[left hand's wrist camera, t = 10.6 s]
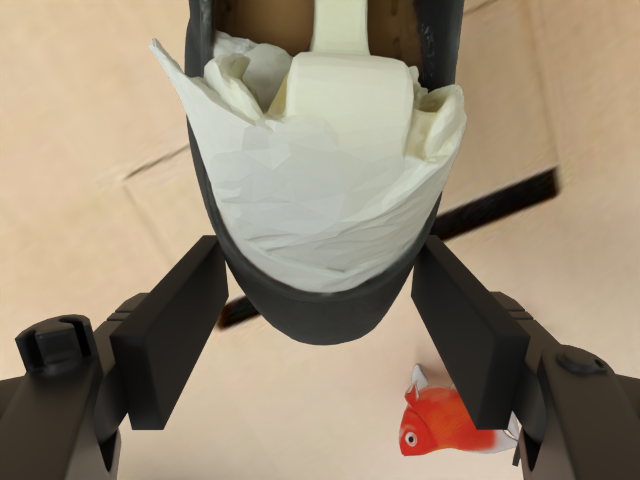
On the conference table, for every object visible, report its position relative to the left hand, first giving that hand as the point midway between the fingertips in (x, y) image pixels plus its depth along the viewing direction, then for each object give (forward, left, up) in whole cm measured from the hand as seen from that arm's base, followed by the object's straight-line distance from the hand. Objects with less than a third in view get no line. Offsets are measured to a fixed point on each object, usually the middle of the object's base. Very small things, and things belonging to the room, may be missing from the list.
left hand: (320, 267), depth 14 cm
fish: (-14, -17, -15) cm, 26 cm away
